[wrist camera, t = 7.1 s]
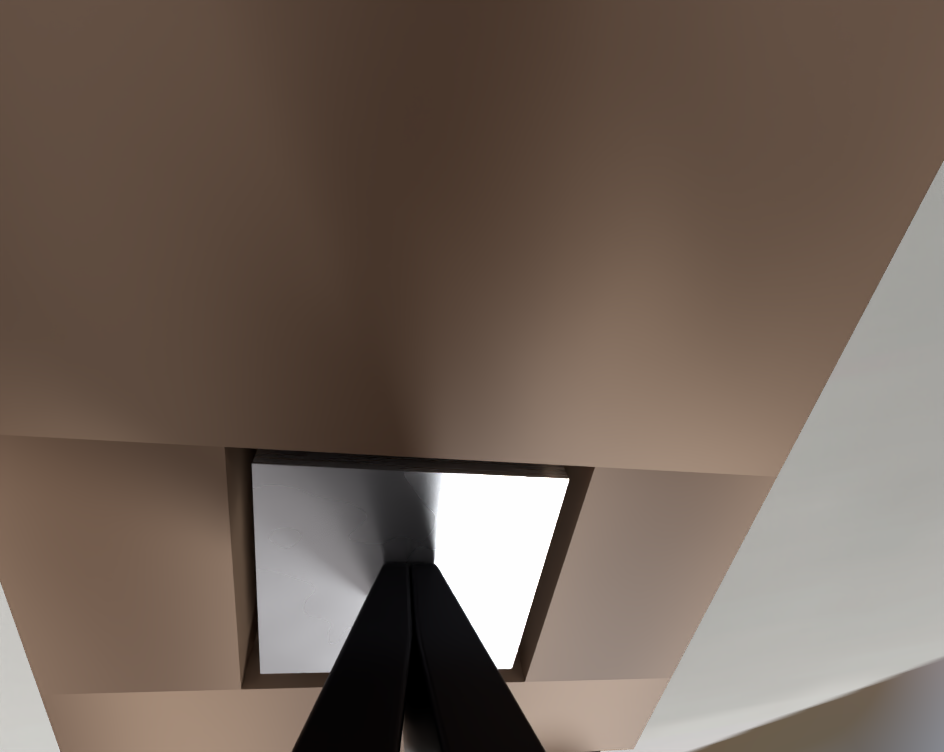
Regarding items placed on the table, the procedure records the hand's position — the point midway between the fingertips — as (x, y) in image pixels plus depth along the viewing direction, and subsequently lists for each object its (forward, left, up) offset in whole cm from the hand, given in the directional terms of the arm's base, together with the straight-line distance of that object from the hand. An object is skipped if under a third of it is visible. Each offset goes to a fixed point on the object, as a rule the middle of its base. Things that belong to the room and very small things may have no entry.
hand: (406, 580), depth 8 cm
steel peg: (0, 0, -6) cm, 6 cm away
